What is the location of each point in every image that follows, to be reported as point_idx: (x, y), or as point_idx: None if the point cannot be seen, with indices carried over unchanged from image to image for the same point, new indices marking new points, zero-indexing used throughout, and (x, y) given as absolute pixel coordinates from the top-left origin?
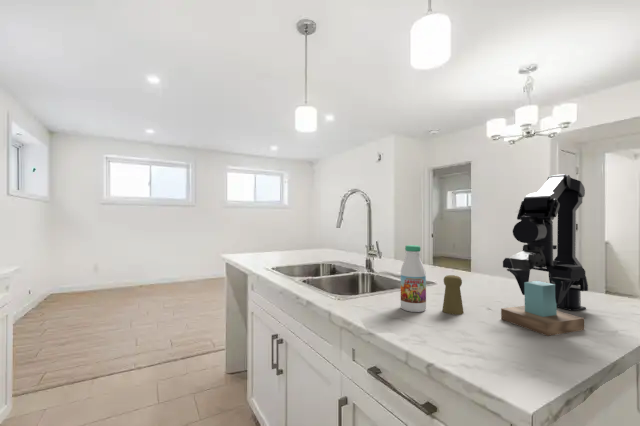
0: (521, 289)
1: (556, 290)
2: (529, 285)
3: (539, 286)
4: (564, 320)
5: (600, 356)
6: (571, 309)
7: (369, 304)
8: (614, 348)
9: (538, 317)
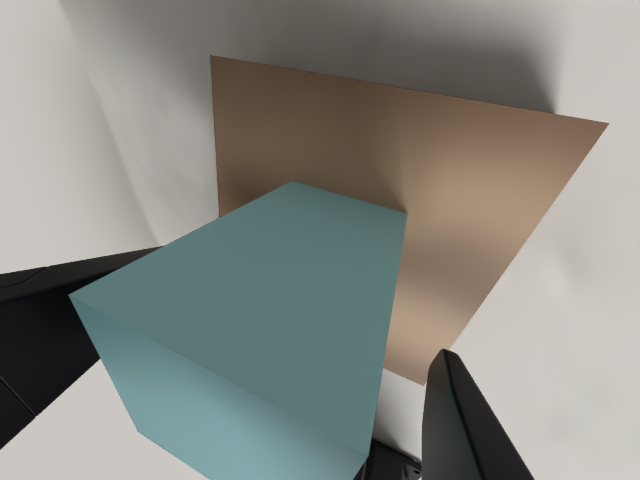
0: (472, 399)
1: (49, 278)
2: (279, 355)
3: (121, 300)
4: (224, 207)
5: (92, 29)
6: None
7: None
8: (140, 163)
9: (296, 144)
